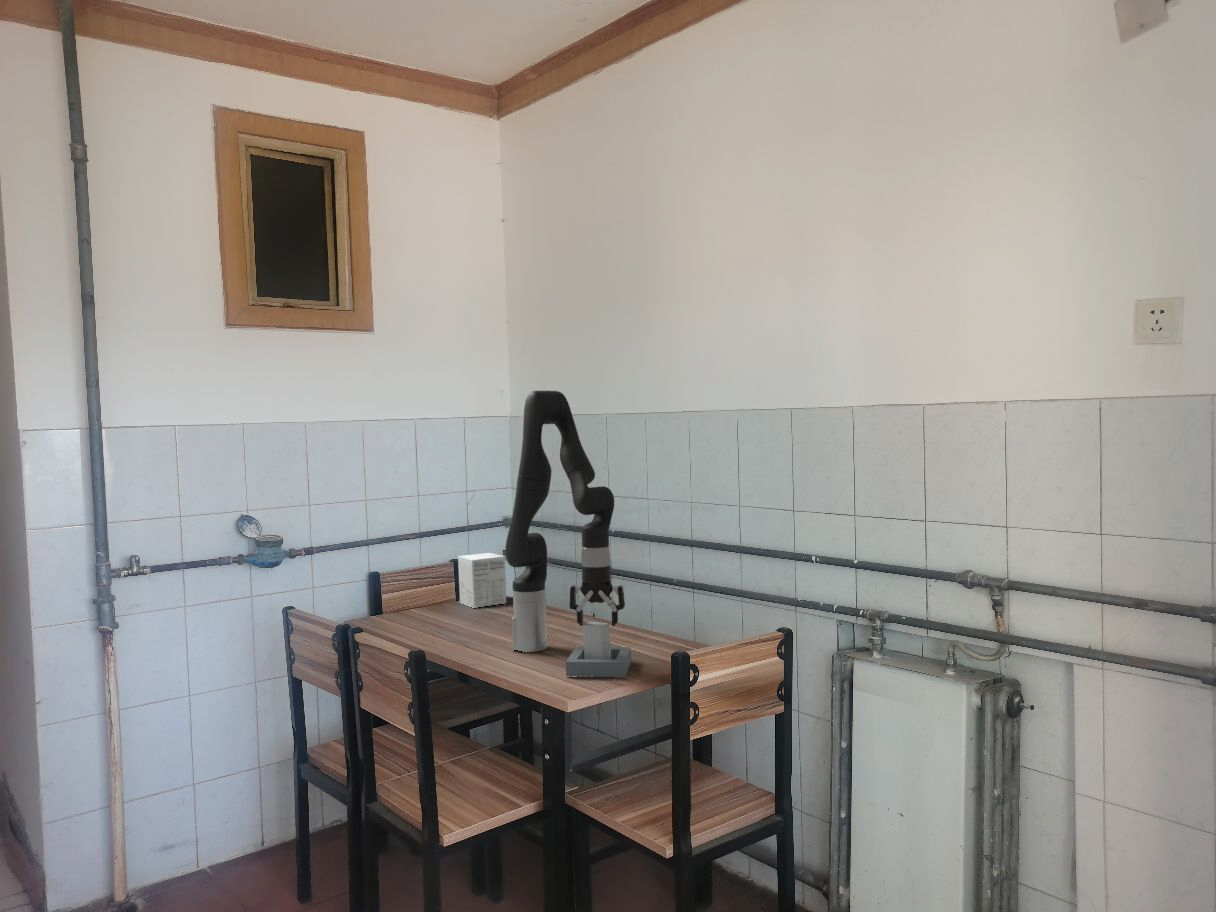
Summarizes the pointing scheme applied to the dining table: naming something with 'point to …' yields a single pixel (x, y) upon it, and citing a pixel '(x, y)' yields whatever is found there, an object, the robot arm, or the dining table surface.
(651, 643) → the dining table surface
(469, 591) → the supplement box
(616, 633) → the dining table surface
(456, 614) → the dining table surface
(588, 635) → the skincare box
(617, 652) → the socket block
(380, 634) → the dining table surface
